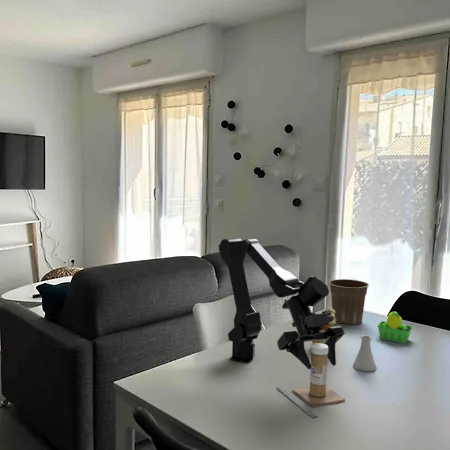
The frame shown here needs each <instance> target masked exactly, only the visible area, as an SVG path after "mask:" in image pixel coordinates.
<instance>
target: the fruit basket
mask: <svg viewBox="0 0 450 450" xmlns="http://www.w3.org/2000/svg"><path fill="white" fill-rule="evenodd" d="M402 322H403V318H402V317H401V316H400V315H399V313H398V312H397V311H391V312H390V313H389V314H388V316H387V318H386V321H383V320H382V321H381V322H379V323H378V324H377V329H378V332H379V338H380V339H381V340H388V341H393V342H397V343H401V344H406V342H407V341H408V340H409V338H410V335H411V332H412V330H413V326H411V325H407V324H405V323H402Z"/></svg>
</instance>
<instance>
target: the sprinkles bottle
mask: <svg viewBox="0 0 450 450" xmlns="http://www.w3.org/2000/svg"><path fill="white" fill-rule="evenodd" d="M310 353H311V355H310V357H311V359H310V364H311V369H309V370H310V371H309V372H310V373H309V386H310V390H309V393H310V394H311V395H313V396H316V397H322V396H325V395H326V386H327V377H328V375H327V373H328V357H327V355H328V346H327V345H326V344H322V343H314V344H313V343H311V346H310Z"/></svg>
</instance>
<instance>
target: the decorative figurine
mask: <svg viewBox="0 0 450 450" xmlns="http://www.w3.org/2000/svg"><path fill="white" fill-rule="evenodd" d="M325 310H330V312H331V313H332V315H333V321H332V322H329V325H324V326H323V329H322V330H320V333H321V332H325V331H326V330H327V329H328V327H334V326H337V325H336V324H337V322H336V318H335V317H334V316H335V313H336V312H335V310H333V309H332V306H328V307H327V306H326V307H325V309H324V311H325ZM319 314H322V312H320V313H319ZM311 342H312V343H311V344H314V343H322V344H324V342H323V341H322V340H315V341H311Z"/></svg>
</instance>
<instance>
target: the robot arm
mask: <svg viewBox="0 0 450 450" xmlns="http://www.w3.org/2000/svg"><path fill="white" fill-rule="evenodd" d="M218 251H219V254H220V258H221V260H222V261H223V262H224V264H225V265H226V266H227V268H228V273H229V274H228V275H229V279H230V283H231V288H232V293H233V299H234V303H235V309H236V312H235V315H234V319H233V328H232V329H231V330H230V331H229V332H228V333H227V336H228V341H230V342H232V344H231V345H232V346H231V347H232V350H231V353H232V354H231V356H230V360H231V361H237V362H245V363H251V361H252V360H253V359H254V358H255V355H256V344H255V343H254V340H256V339H258V337H259V334H260V333H261V331H262V325H263V322H262V319H261V313H260V311H257V312H256V311H255V310H254V308H253V307H252V303H251V298H250V291H249V287H248V281H247V278H246V273H245V267H244V262H245V259H246V254H247V255H248V256H249V258H250V259H251V260H252V261H253V262H254V264H256V266H257V267H258V268H259V269H260V271H262V273H263V274H264V275H265V276H266V277H267V279H268V282H269V286H270V288H271V290H272V291H273V293H274V294H275V296H276V297H278V298H288V297H290V298H288V299H284V301H283V302H284V303H282V305H281V306H282V307H281V308H282V310H288V311H289V314H290V316H291V318H292V321H293V322H292V323H291V326H292V328H295V329H296V330H290V331H284V332H283V333H282V335H280V337H279V338H278V339H277V347H278V350H279V351H286V352H287V353H290V354H291V355H293V356H294V357H295V358H296V359H297V360H299V361H300V362H301V363H302V365H303V366H305V368H306V369H308V370H311V360H310V359H309V356H308V353H307V352H306V348H305V342H312V341H315V340H322V341H323V342H324V344H326V345H327V346H328V355H327V360H328V361H329V362H330V364H331V365H332V366H333V367H334V366H336V365H337V361H336V359H337V358H336V344H337V343H338V342H339V340H341V338H342V337H343V336H344V335H345V334H346V333H345V330H344V329H343V327H342V326H341V325H335V326H334V327H328V329H327V330H326V331H325V332H321V333H320V330H322V329H323V326H324V325H329V322H332V321H333V315H332V313H331V312H330V310H331V309H330V310H325V309H324V310H323V311H321V313H322V314H320V313H316V312H312V310H311V308H310V307H315V306H316V305H317V304H319V303H320V302H321V301H323V300H324V299H325V298H326V297H327V296H328V295H329V294H330V291H329V290H330V288H329V287H328V285H327V284H326V283H324V282H323V281H322V280H320V279H318V278H317V277H316V275H312V276H309V277H308V278H307V279H306V281H305V282H303V281H301V280H299V278H298V277H296V276H295V275H294V274H293V273H292V272H290V271H288V270H286V269H284V268H283V267H281V266H280V265H279V264H278V263H277V262H276V261H275V259H273V257H272V256H271V255H270V254H269V253H268V252H267V251H266V249H264V247H263V246H262V245H261V243H260V242H259V240H258V239H257V238H246V239H241V238H240V237H237V238H224V239H222V240H221V241H220V243H219V245H218Z"/></svg>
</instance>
